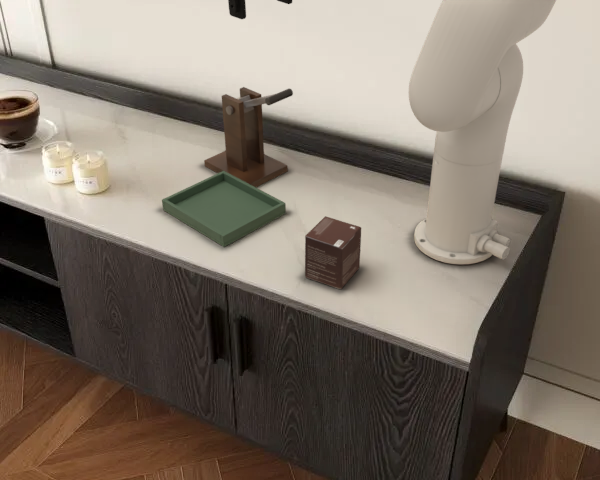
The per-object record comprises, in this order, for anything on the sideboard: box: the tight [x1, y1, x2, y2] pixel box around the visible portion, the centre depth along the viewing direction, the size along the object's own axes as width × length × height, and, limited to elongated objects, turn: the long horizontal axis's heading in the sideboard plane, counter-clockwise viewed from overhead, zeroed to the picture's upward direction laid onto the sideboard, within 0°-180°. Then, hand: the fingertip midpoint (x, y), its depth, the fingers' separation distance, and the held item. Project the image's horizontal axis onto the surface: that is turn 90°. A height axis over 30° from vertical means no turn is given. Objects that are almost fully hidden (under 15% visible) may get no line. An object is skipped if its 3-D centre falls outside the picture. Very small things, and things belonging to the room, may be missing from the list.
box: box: [304, 216, 362, 290], centre depth 108 cm, size 6×6×7 cm
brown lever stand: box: [203, 86, 289, 188], centre depth 130 cm, size 12×9×14 cm
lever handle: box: [236, 88, 294, 113], centre depth 124 cm, size 12×5×2 cm, turn 45°
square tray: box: [161, 171, 287, 248], centre depth 123 cm, size 15×13×2 cm
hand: (261, 9), depth 119 cm, fingers open, 9 cm apart
